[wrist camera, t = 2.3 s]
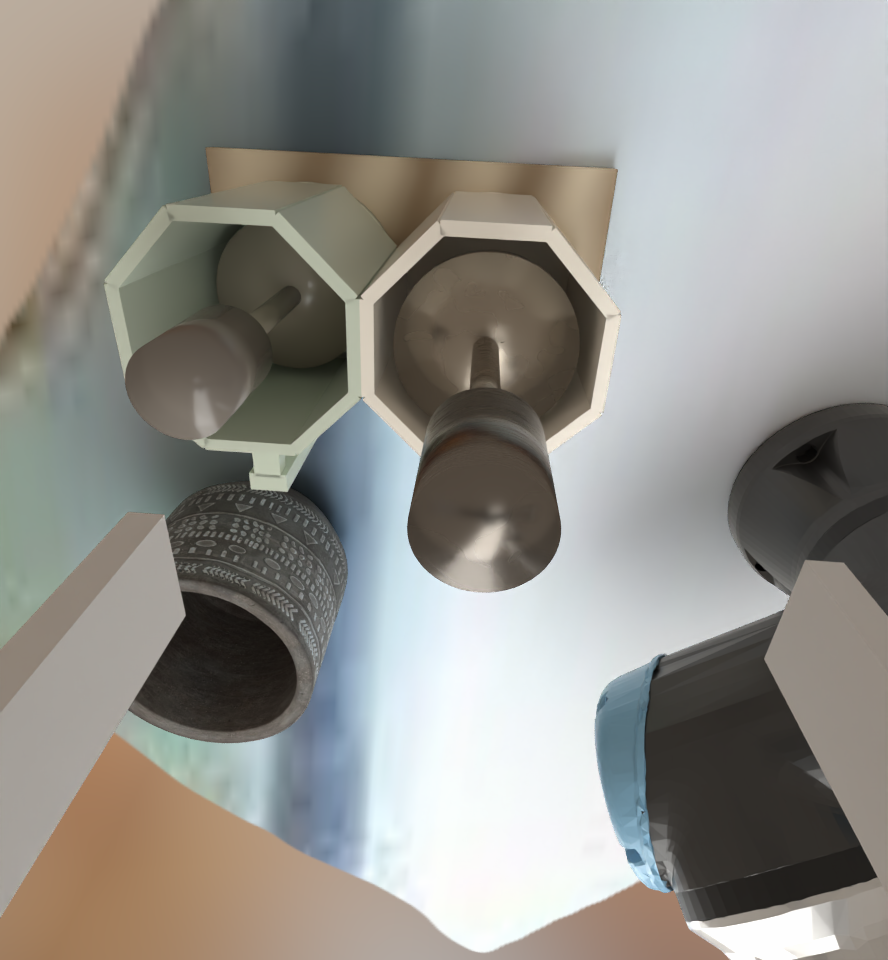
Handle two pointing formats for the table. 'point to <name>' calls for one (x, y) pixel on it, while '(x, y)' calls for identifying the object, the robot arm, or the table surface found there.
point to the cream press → (487, 227)
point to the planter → (245, 614)
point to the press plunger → (485, 415)
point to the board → (434, 187)
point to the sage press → (248, 318)
